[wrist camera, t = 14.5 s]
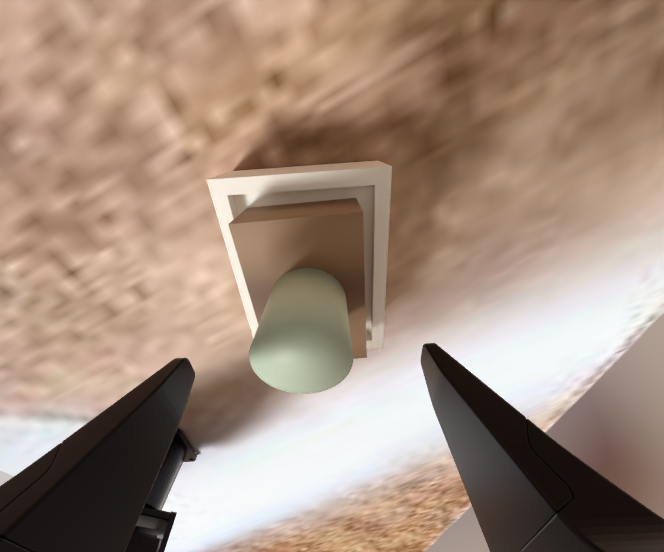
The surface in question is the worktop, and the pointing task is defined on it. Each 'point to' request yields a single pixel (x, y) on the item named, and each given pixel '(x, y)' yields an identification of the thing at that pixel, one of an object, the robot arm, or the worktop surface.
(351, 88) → the worktop surface
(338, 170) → the box base
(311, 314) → the knob
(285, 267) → the lid
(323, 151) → the worktop surface
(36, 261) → the worktop surface
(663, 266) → the worktop surface
